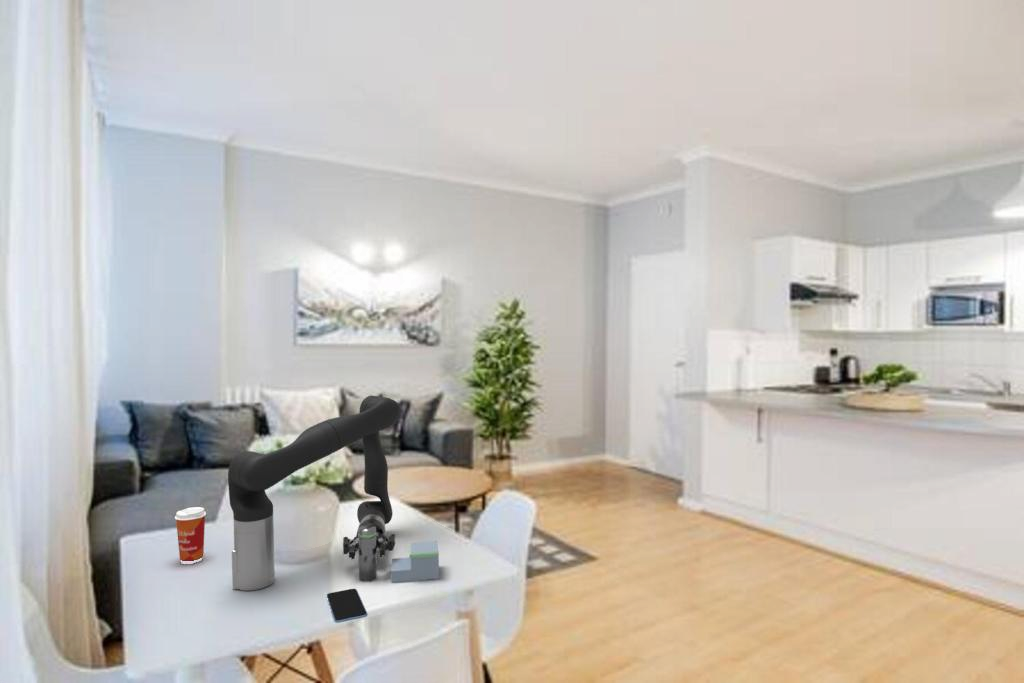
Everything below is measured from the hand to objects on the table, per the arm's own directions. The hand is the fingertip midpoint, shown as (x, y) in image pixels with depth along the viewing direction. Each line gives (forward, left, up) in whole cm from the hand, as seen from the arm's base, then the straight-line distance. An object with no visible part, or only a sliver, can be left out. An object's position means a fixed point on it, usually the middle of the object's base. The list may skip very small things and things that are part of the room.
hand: (366, 554), depth 151 cm
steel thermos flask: (0, +2, -7) cm, 7 cm away
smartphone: (-4, -12, -8) cm, 14 cm away
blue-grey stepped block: (+12, +2, -7) cm, 14 cm away
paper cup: (-49, +22, -7) cm, 54 cm away
